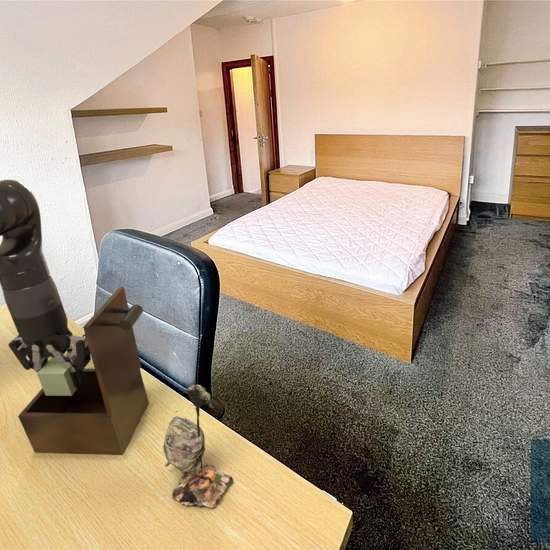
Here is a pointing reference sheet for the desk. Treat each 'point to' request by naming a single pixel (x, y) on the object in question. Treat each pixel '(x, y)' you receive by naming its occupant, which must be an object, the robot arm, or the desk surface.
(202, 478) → the plant with pod
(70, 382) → the block
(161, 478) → the desk surface
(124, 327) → the lid
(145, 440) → the desk surface
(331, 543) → the desk surface
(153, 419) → the desk surface
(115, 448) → the chest
